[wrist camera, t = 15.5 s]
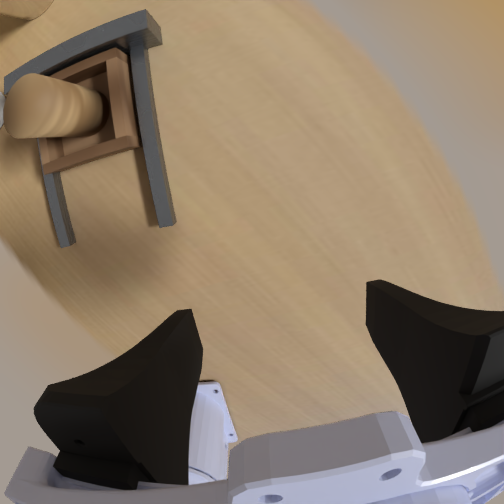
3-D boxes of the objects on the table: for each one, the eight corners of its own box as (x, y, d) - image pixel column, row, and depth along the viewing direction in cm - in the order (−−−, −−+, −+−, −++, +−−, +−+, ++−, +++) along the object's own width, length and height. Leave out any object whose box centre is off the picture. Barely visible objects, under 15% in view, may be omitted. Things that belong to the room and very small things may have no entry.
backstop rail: (191, 219, 21) (181, 232, 18) (57, 246, 22) (34, 260, 18) (160, 27, 16) (145, 9, 13) (29, 81, 17) (3, 77, 14)
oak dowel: (113, 127, 18) (52, 122, 11) (73, 143, 18) (7, 148, 11) (105, 83, 17) (45, 61, 10) (66, 101, 17) (1, 91, 10)
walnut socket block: (142, 146, 19) (128, 146, 17) (63, 171, 20) (44, 174, 17) (129, 57, 17) (115, 47, 15) (52, 88, 17) (33, 84, 15)
